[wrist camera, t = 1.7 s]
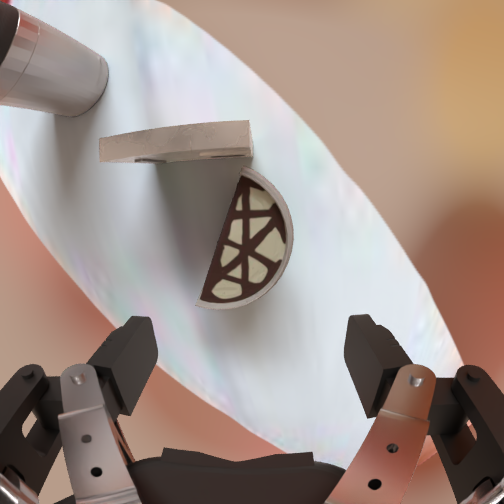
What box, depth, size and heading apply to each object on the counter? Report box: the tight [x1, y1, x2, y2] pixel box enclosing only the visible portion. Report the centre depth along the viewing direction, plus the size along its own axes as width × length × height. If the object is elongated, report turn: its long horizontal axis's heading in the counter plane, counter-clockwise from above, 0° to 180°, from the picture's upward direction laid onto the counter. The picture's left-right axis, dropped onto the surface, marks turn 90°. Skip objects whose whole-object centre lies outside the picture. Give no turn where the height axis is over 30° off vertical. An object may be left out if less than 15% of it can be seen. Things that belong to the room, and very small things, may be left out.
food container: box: [195, 166, 294, 310], centre depth 26 cm, size 12×6×10 cm, turn 160°
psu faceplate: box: [99, 120, 253, 164], centre depth 23 cm, size 11×2×12 cm, turn 91°
